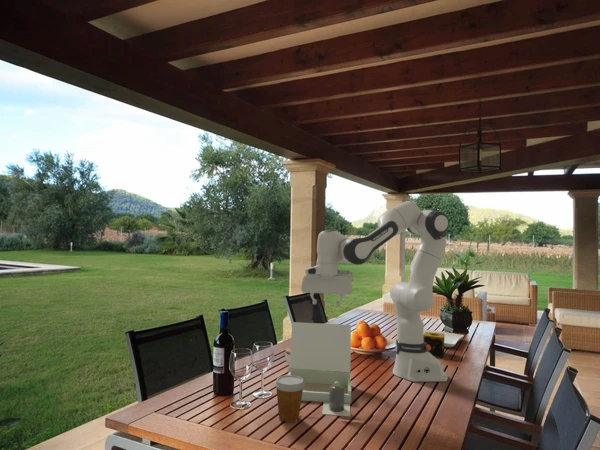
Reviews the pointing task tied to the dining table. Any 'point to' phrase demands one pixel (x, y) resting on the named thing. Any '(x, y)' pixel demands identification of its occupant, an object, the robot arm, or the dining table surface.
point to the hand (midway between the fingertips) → (326, 304)
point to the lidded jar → (288, 355)
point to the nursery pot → (336, 397)
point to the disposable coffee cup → (289, 397)
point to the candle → (435, 343)
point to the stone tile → (343, 413)
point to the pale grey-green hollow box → (321, 358)
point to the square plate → (448, 338)
